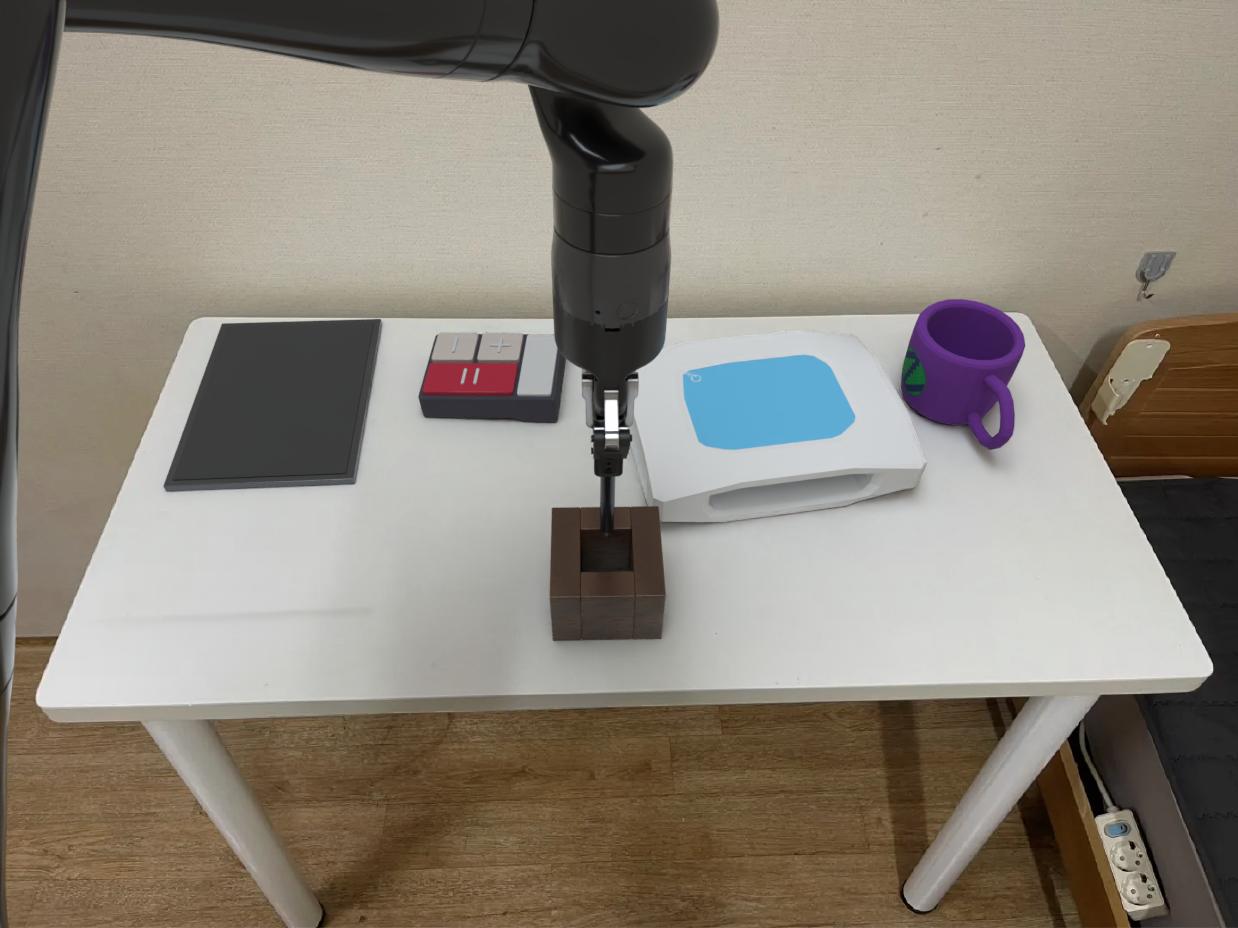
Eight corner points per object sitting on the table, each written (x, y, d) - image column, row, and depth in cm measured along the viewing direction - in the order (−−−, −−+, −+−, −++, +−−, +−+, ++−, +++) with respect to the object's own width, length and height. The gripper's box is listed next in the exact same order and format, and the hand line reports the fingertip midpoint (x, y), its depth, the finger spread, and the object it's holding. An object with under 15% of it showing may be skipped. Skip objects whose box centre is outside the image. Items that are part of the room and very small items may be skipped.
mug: (878, 370, 105) (900, 302, 97) (968, 359, 106) (995, 291, 99) (941, 480, 93) (971, 412, 86) (1040, 466, 95) (1077, 398, 88)
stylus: (603, 542, 76) (605, 427, 65) (597, 532, 76) (597, 417, 66) (616, 537, 76) (619, 422, 66) (609, 527, 77) (612, 412, 67)
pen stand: (552, 641, 80) (549, 597, 74) (554, 552, 86) (551, 507, 81) (661, 639, 80) (665, 595, 75) (655, 551, 87) (658, 505, 81)
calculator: (434, 327, 103) (563, 328, 102) (441, 356, 106) (566, 356, 105) (415, 393, 95) (554, 394, 95) (423, 421, 99) (557, 422, 98)
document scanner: (917, 497, 92) (934, 456, 87) (652, 532, 88) (655, 492, 83) (846, 363, 106) (858, 321, 101) (615, 389, 102) (616, 347, 97)
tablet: (354, 484, 92) (352, 478, 91) (165, 491, 90) (162, 485, 90) (382, 323, 109) (380, 317, 108) (223, 328, 108) (221, 322, 107)
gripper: (553, 224, 61) (560, 405, 74) (550, 353, 52) (559, 534, 65) (661, 224, 62) (650, 404, 74) (677, 352, 52) (661, 532, 65)
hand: (607, 464), depth 70 cm, fingers closed on stylus, 1 cm apart
